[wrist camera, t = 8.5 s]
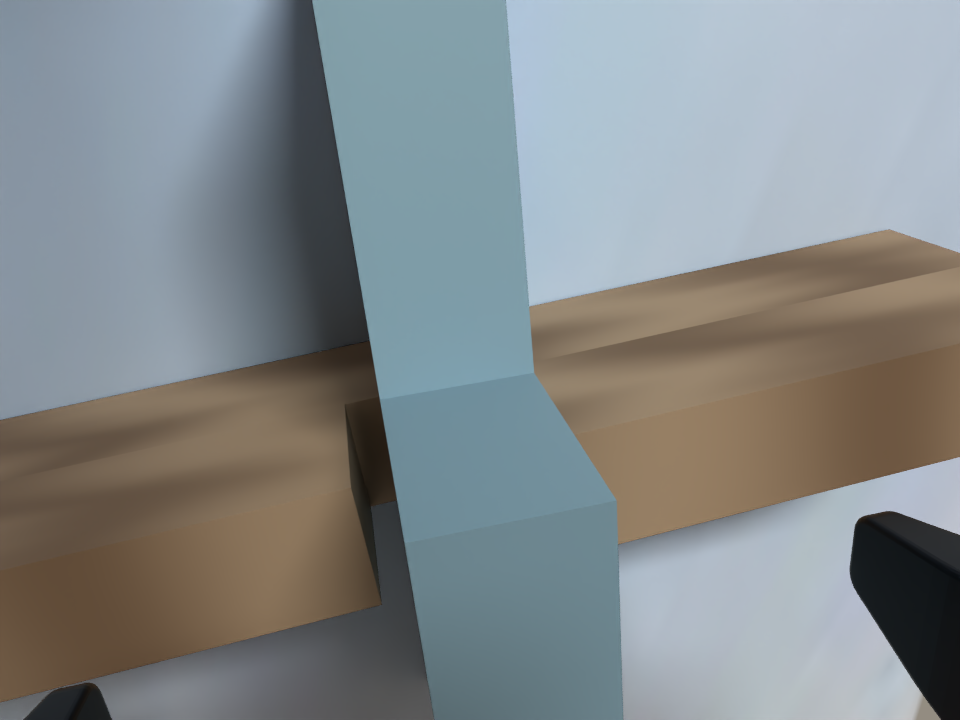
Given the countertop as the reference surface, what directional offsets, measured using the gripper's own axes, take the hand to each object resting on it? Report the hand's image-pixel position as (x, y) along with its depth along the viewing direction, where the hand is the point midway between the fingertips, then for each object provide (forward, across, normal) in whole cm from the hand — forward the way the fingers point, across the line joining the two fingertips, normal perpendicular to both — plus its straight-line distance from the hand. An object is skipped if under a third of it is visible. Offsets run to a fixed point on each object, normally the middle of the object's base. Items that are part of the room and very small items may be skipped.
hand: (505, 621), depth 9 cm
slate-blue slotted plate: (+7, 0, 0) cm, 7 cm away
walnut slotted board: (+7, 0, 0) cm, 7 cm away
